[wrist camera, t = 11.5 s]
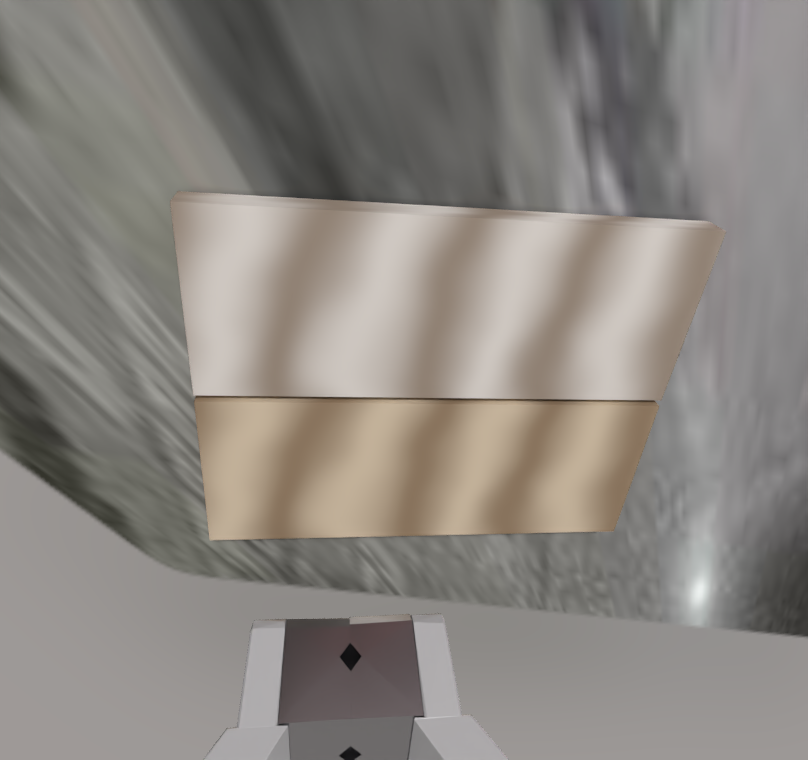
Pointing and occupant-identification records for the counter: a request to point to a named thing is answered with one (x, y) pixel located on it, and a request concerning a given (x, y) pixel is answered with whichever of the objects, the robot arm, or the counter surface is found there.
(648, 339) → the whitewashed plank
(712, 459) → the counter surface
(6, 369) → the counter surface
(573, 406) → the laid oak row
